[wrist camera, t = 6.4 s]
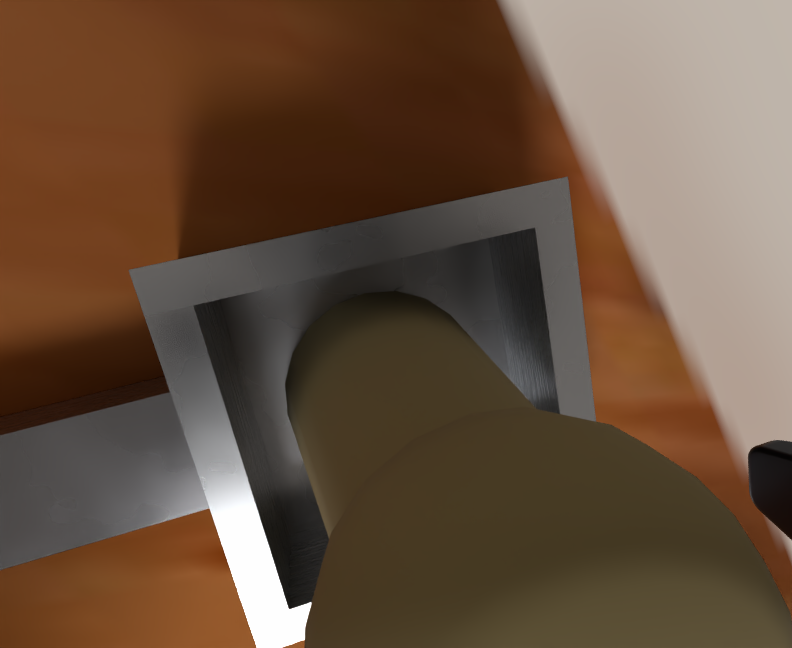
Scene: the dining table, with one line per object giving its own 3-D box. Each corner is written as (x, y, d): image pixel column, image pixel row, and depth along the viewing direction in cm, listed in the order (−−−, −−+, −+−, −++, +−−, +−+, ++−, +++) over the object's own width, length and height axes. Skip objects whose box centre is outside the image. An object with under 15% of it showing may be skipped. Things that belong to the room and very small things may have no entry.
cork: (243, 359, 13) (33, 836, 3) (422, 252, 14) (838, 299, 3) (351, 514, 15) (485, 1202, 4) (508, 413, 15) (978, 801, 5)
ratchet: (527, 454, 18) (608, 533, 13) (-6, 620, 15) (-144, 795, 10) (487, 193, 16) (567, 176, 11) (-151, 329, 13) (-409, 384, 8)
